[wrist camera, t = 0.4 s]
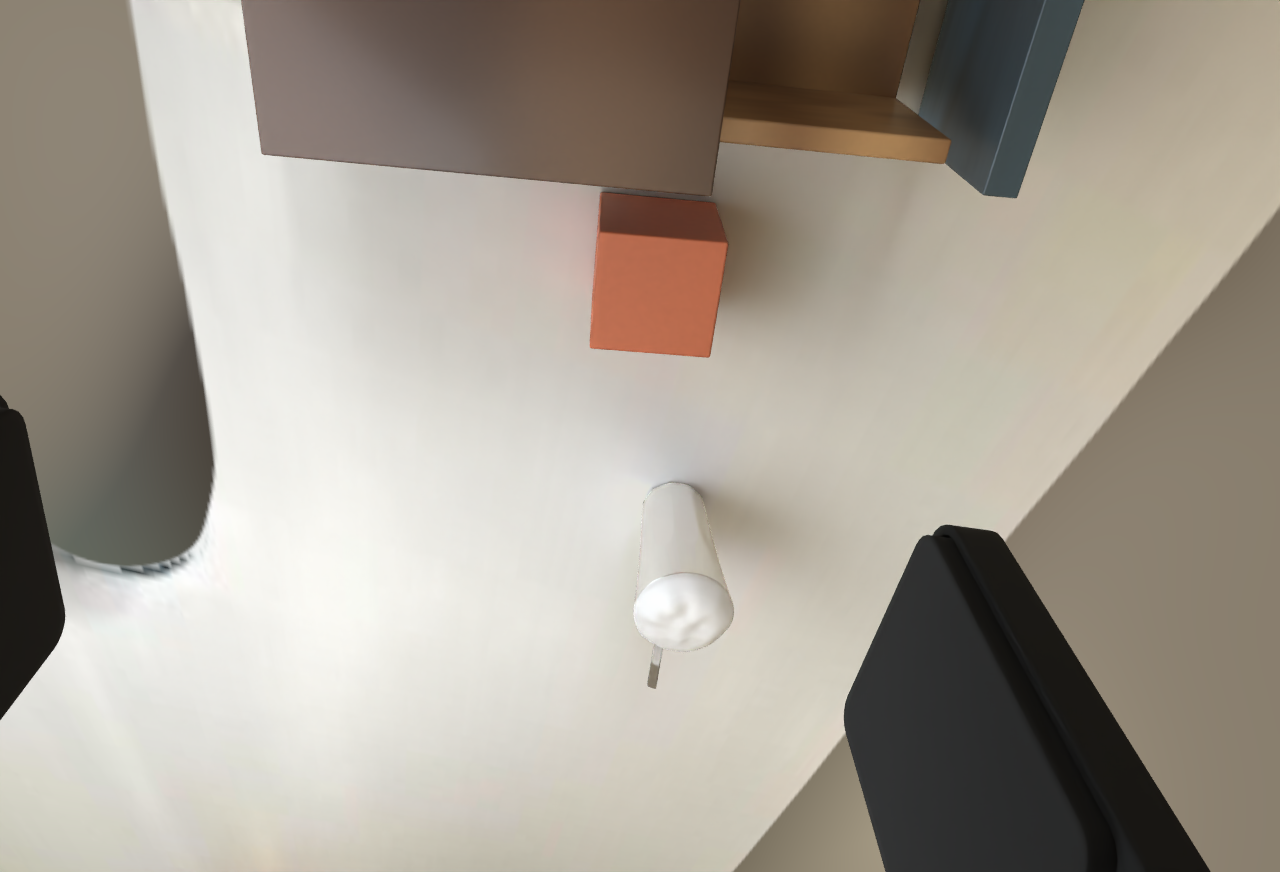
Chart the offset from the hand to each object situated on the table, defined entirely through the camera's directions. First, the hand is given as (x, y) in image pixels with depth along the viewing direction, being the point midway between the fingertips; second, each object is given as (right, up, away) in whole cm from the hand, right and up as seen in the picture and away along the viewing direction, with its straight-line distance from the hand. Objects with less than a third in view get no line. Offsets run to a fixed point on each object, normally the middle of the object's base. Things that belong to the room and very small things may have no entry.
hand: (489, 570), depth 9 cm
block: (+2, +10, +29) cm, 30 cm away
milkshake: (+3, -2, +37) cm, 37 cm away
